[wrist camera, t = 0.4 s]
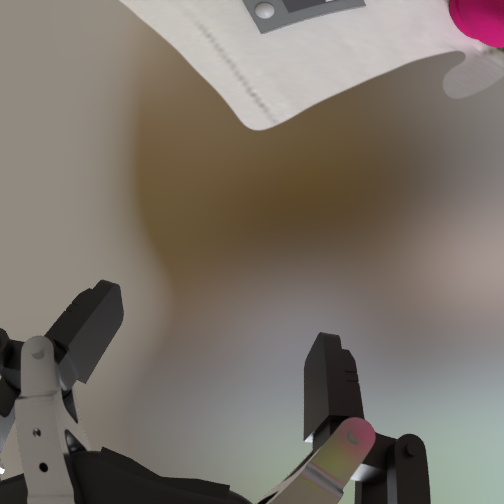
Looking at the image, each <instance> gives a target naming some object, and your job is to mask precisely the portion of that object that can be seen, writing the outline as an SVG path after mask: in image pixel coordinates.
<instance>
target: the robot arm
mask: <svg viewBox="0 0 504 504" xmlns="http://www.w3.org/2000/svg"><path fill="white" fill-rule="evenodd" d="M123 316H124V311H123V305H122V298H121V290H120V286H119V285H118V284H115V283H112V282H109V281H105V280H100V281H99V282H98V284H97V285H96V286H95V287H94V288H93V289H90V288H89V289H87V290H85V291H83V292H82V293H80V294H79V295H78V296H77V297H76V298H75V299H74V300H73V301H72V304H70V305H69V306H68V307H67V309H66V311H64V312H63V313H62V315H61V316H60V317H59V318H58V319H57V321H56V322H55V323H54V324H53V326H52V327H51V328H50V329H49V331H48V332H47V333H46V334H45V335H44V336H35V337H32V338H30V339H28V340H27V341H26V342H21V341H15V340H11V339H9V337H8V335H7V333H6V331H5V330H3V329H1V328H0V375H1V377H2V378H1V380H0V453H1V450H2V448H3V445H4V443H5V441H6V438H7V436H8V434H9V432H10V429H11V427H12V425H13V423H14V421H15V419H16V428H17V436H18V444H19V450H20V456H21V461H22V467H23V471H24V473H23V474H20V475H17V476H14V477H11V478H8V479H5V480H2V481H1V479H0V504H252V503H251V502H250V501H249V500H247V499H246V498H244V497H243V496H241V495H239V494H237V493H235V492H233V491H230V490H229V488H230V485H225V484H219V483H214V482H209V481H204V480H200V479H188V478H169V477H161V476H159V475H157V474H155V473H153V472H152V471H150V470H148V469H147V468H145V467H144V466H142V465H140V464H139V463H137V462H135V461H134V460H133V459H131V458H129V457H126V456H124V455H121V454H119V453H116V452H114V451H111V450H109V449H107V448H105V447H102V449H101V452H100V451H92V450H91V446H90V443H89V441H88V438H87V436H86V434H85V432H84V430H83V427H82V423H81V419H80V415H79V410H78V405H77V400H76V394H75V389H74V386H73V385H74V383H75V382H76V380H79V381H81V382H83V383H85V384H86V382H87V380H88V379H89V377H90V375H91V374H92V372H93V370H94V368H95V367H96V365H97V363H98V362H99V360H100V358H101V357H102V355H103V353H104V352H105V350H106V348H107V347H108V345H109V343H110V342H111V340H112V339H113V337H114V335H115V334H116V332H117V330H118V329H119V328H120V326H121V323H122V321H123ZM358 381H359V380H358V375H357V368H356V362H355V360H354V358H353V356H352V355H351V353H350V351H349V350H345V349H342V347H341V341H340V337H339V335H334V334H327V333H322V332H320V333H319V334H318V336H317V338H316V340H315V342H314V344H313V346H312V348H311V350H310V352H309V354H308V356H307V358H306V361H305V366H304V442H313V450H312V451H311V452H310V453H309V454H308V455H307V456H306V457H305V458H304V459H303V460H302V461H301V463H300V464H299V465H298V466H297V467H296V468H295V469H294V470H293V471H292V472H291V473H290V474H289V475H288V476H287V477H286V478H285V479H284V480H282V481H281V483H279V484H278V485H277V486H276V487H275V488H273V489H272V490H271V491H269V492H268V493H267V494H266V495H265V496H264V497H263V498H262V499H260V500H259V501H258V502H257V503H256V504H337V503H338V502H339V501H340V499H341V498H342V496H343V488H344V487H345V485H346V484H347V482H348V481H349V480H350V479H352V480H355V504H430V503H431V501H430V485H429V475H428V464H427V456H426V449H425V445H424V443H423V441H422V440H421V439H420V438H419V437H418V436H416V435H414V434H405V435H403V436H401V437H400V438H398V439H395V438H391V437H387V436H384V435H381V434H378V433H376V432H375V431H374V429H373V427H372V426H371V424H370V423H369V422H367V421H366V420H365V419H364V414H363V406H362V399H361V392H360V386H359V383H358ZM3 472H4V466H3V464H2V463H1V460H0V474H1V473H3Z"/></svg>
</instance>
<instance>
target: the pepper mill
mask: <svg viewBox="0 0 504 504" xmlns="http://www.w3.org/2000/svg"><path fill="white" fill-rule="evenodd" d="M449 11H450V15H451V18H452V20H453V22H454V23H455V25H456V26H457V27H458V29H459V30H460V31H461V32H462V33H464V34H465V35H466V36H468V37H470V38H473V39H478V40H479V41H481V42H482V43H484V44H486V45H489V46H492V47H504V0H450V3H449Z"/></svg>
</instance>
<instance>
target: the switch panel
mask: <svg viewBox="0 0 504 504" xmlns="http://www.w3.org/2000/svg"><path fill="white" fill-rule="evenodd" d="M243 2H244V4H245V6H246V7H247V9H248V11H249V13H250V14H251V16H252V18H253V20H254V22H255V23H256V25H257V27H258V29H259V31H260V33H261V34H265V33H268V32H271V31H273V30H276V29H279V28H282V27H285V26H288V25H291V24H294V23H298V22H301V21H304V20H308V19H311V18H315V17H319V16H323V15H327V14H331V13H335V12H340V11H344V10H349V9H355V8H360V7H364V6H366V4H365V2H364V0H332V1H328V2H326V1H325V0H243Z"/></svg>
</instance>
